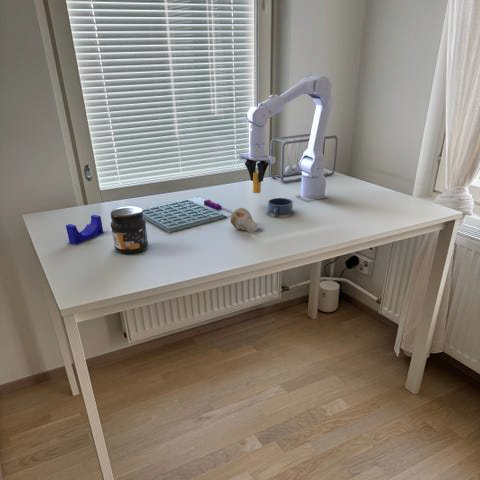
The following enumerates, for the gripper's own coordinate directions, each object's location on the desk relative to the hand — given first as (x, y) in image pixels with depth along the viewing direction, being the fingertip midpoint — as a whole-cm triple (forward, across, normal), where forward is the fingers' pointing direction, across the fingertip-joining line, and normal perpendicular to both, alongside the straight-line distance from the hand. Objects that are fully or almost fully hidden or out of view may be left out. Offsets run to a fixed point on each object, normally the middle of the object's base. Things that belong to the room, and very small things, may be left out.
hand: (256, 180), depth 174 cm
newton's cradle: (+10, -3, +48) cm, 49 cm away
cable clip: (+10, -33, -58) cm, 67 cm away
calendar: (+10, -19, -22) cm, 30 cm away
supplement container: (+10, -12, -56) cm, 59 cm away
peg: (+4, 0, 0) cm, 4 cm away
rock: (+10, +11, -25) cm, 29 cm away
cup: (+10, +13, -5) cm, 17 cm away
